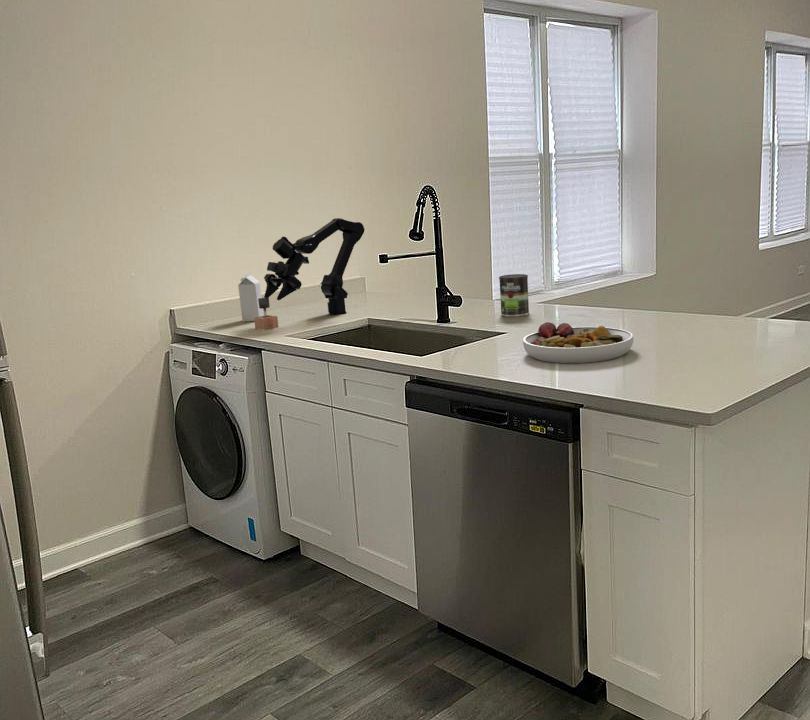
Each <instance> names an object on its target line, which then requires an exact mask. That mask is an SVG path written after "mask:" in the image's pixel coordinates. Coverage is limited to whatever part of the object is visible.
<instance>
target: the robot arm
mask: <svg viewBox="0 0 810 720" xmlns="http://www.w3.org/2000/svg"><path fill="white" fill-rule="evenodd" d="M337 231H340V232H342V243H341V245H340V248H339V251H338V253H337V256H336V258H335V261H334V264H333V266H332V269H331V272H330V273H328V274H324V275H323V278H322V281H321V282H320V285H321V286H320V290H321V292H322V294H323V295H324V297H325V299H326V300H327V302H326V303H327V312H328V314H329V315H330V316H332V314H334V315H341V314H340V313H344V314H347V311H346V302H345V299H347V298H348V295H349V293H348V291H347V290H345V289H344V288H343V287H344V286H343V285H344V280H343V275H344V273H345V270H346V268H347V266H348V263H349V260H350V258H351V255H352V252H353V249H354V248H355V245H356V244H357V243H358V242H359V241H361V239H362V238H363V235H364V233H365V226H364V225H363V223H362V222H359V221H350V220H346V219H344V218H341V217H338V218H337V217H336V218H333V219H332V220H331V221H329V222H328V223H326V224H325V225H323V226H322V227H321V228H319V229H317V230H316V231H315V232H313V233H312V234H310V235H306V236H303V237H301V238H299V239H297V240H296V241H295V242H294V243H292V242H291V241H290V240H289V239H288V238H287V237H286V236H281V238H280V239H278V240H277V241H275V242H274V243H273V244H272V250H273V251H274V252H275V253H276V254H277V255H278V256H279V257H280V258H282V259H283V260H286V259H287V260H286V261H285V262H284V261H280V260H279V261H277V262H275V261H274V262H271V261H268V263H267V267H266V271H267V272H269V271H270V272H273V273H266V274H265V275H264V277H263V279H264V281H265V283H266V288H265V293H264V296H263V298H265V297H268V298H269V299H270V297H271V296H273V294H274V293H276V292H277V291H278V290H279V288H280V287H281V285H282V287H281V288H280V291H279V293H278V295H277V297H276V300H277V301H281V300H282V299H284V298H285V297H288V296H289V295H290V294H292V293H294V292H296V291H297V290H300V289H301V288H302V281H301V280H300V279H298V278H297V277H296V276H299V274H300V272H299V271H300V268H301V267H302V265H303V264H308V265H309V264H310V260H309V256H305V255H306V254H307V255H310V254H312V253H313V252H315V251H316V250H317V249H318V247H319V245H320V244H321V243H322V242H323V241H324V240H326V239H327V238H328V237H330V236H332V235H333V234H335V233H336V232H337ZM303 254H304V255H303Z"/></svg>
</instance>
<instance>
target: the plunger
mask: <svg viewBox="0 0 810 720" xmlns="http://www.w3.org/2000/svg"><path fill="white" fill-rule="evenodd" d="M258 302H259V308H260V309H263V314H264V318H267V315H268V314H267V309H269V308H270V297H269V298H268V297H265V298H264V297H262V298H259V299H258Z"/></svg>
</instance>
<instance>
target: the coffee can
mask: <svg viewBox="0 0 810 720" xmlns="http://www.w3.org/2000/svg"><path fill="white" fill-rule="evenodd" d="M528 278H529V274H525V273H524V274H523V273H520V274H519V273H516V274H515V273H514V274H504V275H499V277H498V280H499V294H500V298H499V299H500V315H501V316H502V317H507V318H512V317H513V318H515V317H516V318H517V317H524V315H525V316H529V315H530V308H529V307H530V306H529V300H530V299H529V281H528Z"/></svg>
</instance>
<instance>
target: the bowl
mask: <svg viewBox="0 0 810 720" xmlns="http://www.w3.org/2000/svg"><path fill="white" fill-rule="evenodd" d="M537 330H538V331H536V332H533V333H530V334H527V335H525V336H524V337H523V338H522V345H523V349H524V351H525V352H526V353H527V355H529V356H530V357H532V358H533V359H536V360H538V361H540V362H541V361H542V362H545V363H553V364H554V363H555V364H588V363H590V362H591V363H599V362H605V361H611V360H613V359H617V358H619V357H622V356H624V355H625V354H626V353H628V352H629V351H630V350H631V348H633V347H632V346H633V344H634V333H632V332H630V331H628V330H626V329H622V328H616V327H615V328H614V327H605V326H604V325H600V326H571V324H569V323H567V322H564V323H563V322H562V323H560V324H559V325H558V326H556V325H555V324H554V323H553V322H550V321H547V322H544V323H542V324H541V325H539V327H538V329H537Z"/></svg>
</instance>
